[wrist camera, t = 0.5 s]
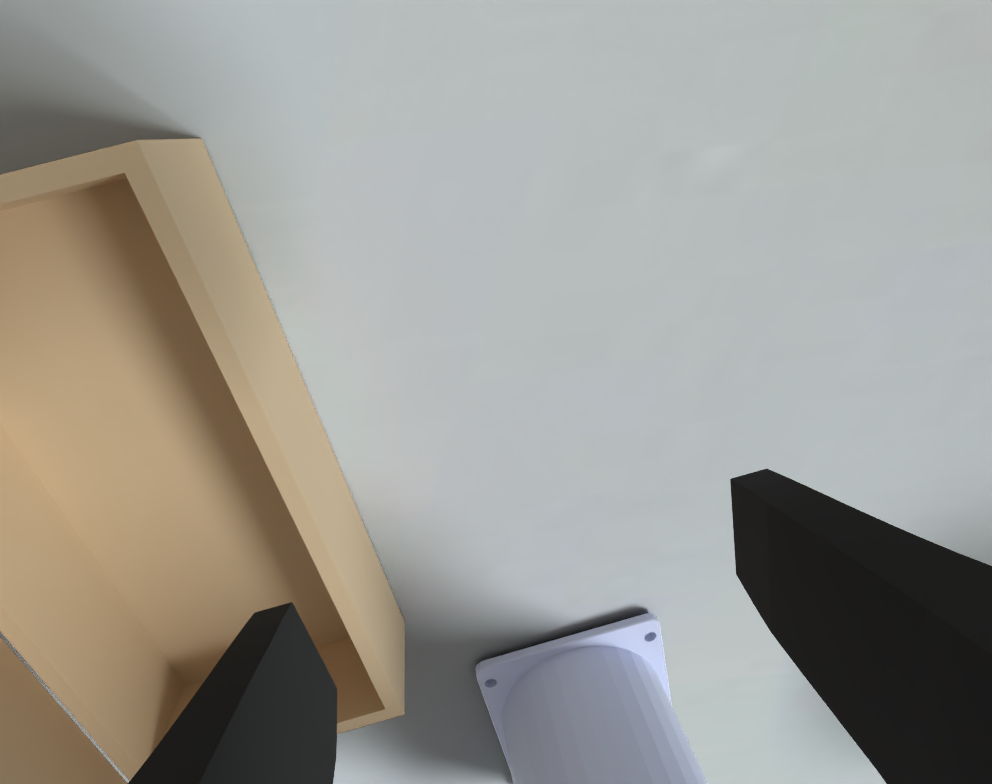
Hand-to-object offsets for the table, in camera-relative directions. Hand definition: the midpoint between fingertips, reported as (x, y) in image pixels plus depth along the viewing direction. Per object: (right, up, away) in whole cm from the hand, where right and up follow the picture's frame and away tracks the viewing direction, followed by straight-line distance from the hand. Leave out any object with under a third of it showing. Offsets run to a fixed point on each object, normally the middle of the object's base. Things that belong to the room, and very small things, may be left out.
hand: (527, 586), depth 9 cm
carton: (-10, +1, +9) cm, 14 cm away
